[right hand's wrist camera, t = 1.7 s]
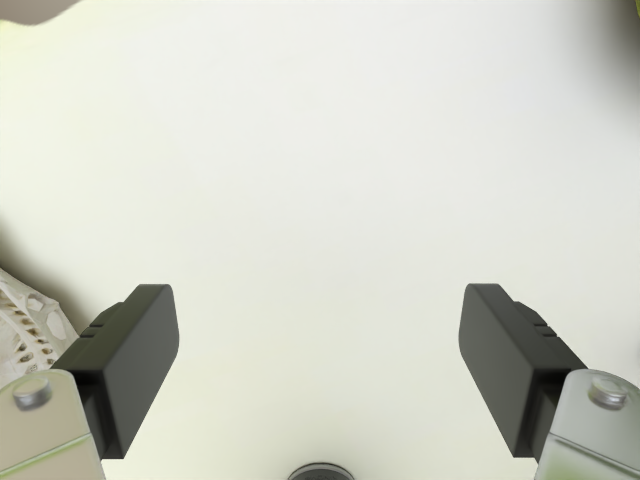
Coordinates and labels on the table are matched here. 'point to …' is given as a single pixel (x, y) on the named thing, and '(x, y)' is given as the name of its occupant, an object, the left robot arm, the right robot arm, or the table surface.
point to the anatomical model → (29, 330)
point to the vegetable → (638, 6)
